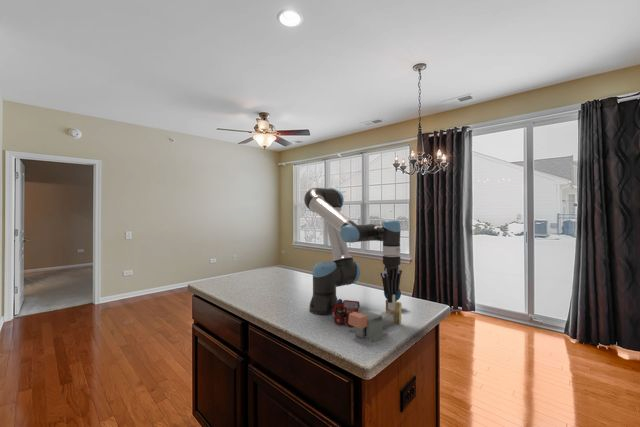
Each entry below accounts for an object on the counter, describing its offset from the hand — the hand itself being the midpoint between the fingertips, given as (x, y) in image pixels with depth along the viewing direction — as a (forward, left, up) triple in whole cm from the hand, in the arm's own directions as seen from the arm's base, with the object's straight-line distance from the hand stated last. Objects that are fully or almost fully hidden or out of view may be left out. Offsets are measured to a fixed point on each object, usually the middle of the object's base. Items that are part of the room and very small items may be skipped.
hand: (391, 309), depth 124 cm
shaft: (-5, -8, -6) cm, 11 cm away
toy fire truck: (-19, -6, -6) cm, 21 cm away
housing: (-8, -14, -6) cm, 17 cm away
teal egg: (-1, +20, -6) cm, 21 cm away
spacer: (-11, -19, -1) cm, 22 cm away
